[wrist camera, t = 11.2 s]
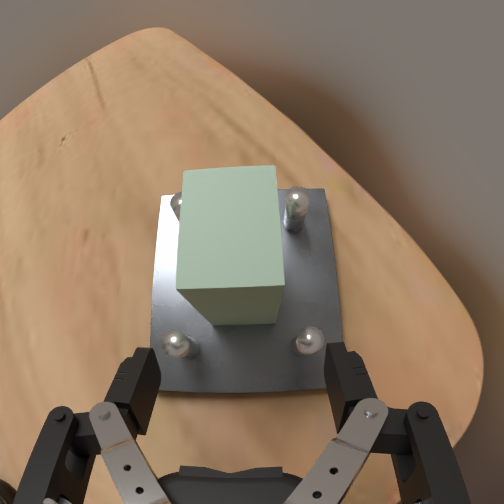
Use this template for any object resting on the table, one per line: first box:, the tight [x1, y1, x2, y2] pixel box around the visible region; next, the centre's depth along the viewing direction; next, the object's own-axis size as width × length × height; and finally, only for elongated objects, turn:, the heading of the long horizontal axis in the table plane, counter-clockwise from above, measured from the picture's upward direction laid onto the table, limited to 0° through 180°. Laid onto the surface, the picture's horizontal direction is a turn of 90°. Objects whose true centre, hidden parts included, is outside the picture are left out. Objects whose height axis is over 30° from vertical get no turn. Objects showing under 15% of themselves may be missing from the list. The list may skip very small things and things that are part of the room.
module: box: [176, 165, 285, 325], centre depth 18 cm, size 4×6×10 cm
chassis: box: [150, 186, 343, 393], centre depth 22 cm, size 14×16×5 cm
